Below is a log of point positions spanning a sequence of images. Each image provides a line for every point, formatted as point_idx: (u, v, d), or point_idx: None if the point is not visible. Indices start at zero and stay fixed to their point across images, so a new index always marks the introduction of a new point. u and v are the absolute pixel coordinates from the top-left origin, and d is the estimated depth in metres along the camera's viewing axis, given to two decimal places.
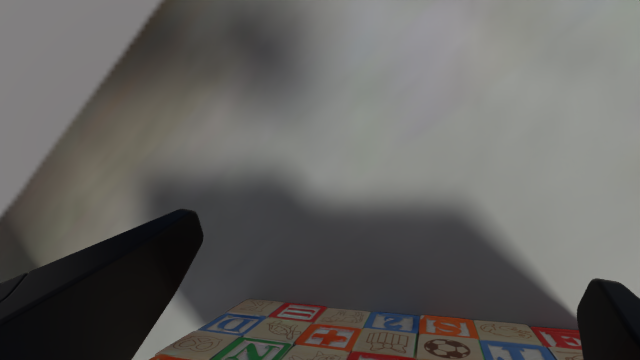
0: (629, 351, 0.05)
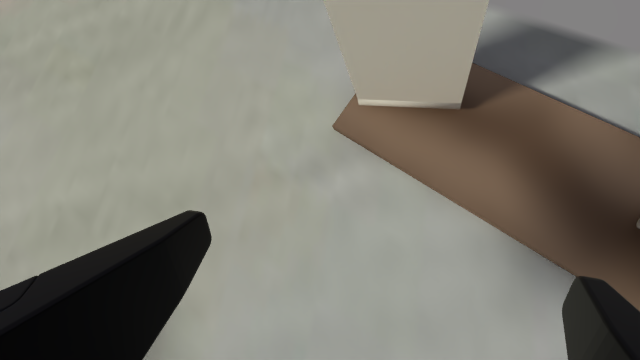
0: (609, 347, 0.05)
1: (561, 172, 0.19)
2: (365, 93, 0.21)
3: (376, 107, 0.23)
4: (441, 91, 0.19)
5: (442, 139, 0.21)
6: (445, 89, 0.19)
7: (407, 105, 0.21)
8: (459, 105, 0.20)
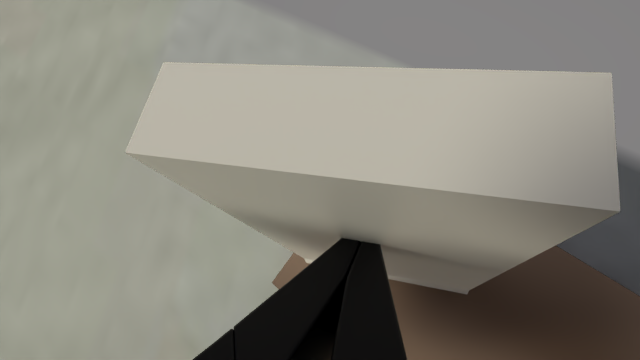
0: None
1: None
2: (313, 258, 0.13)
3: None
4: (436, 279, 0.11)
5: (437, 331, 0.13)
6: (443, 280, 0.11)
7: None
8: (465, 292, 0.12)
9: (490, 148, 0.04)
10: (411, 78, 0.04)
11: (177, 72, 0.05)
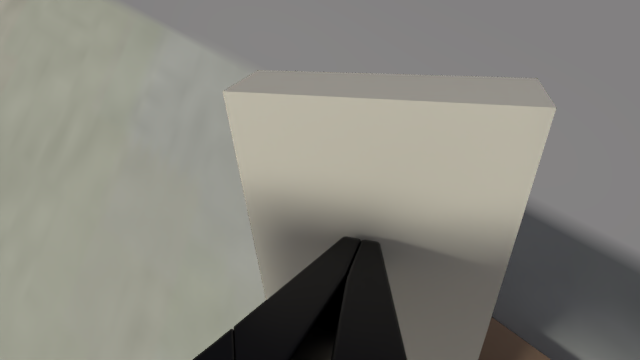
0: None
1: None
2: None
3: None
4: None
5: None
6: None
7: None
8: None
9: (474, 93, 0.06)
10: (422, 77, 0.07)
11: (267, 72, 0.08)
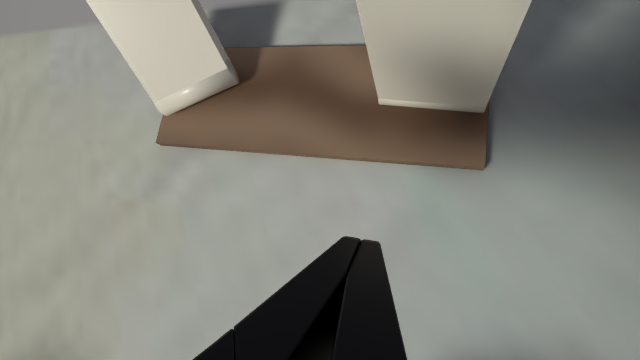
0: None
1: (324, 93, 0.24)
2: (154, 88, 0.25)
3: (183, 112, 0.27)
4: (202, 56, 0.24)
5: (238, 111, 0.25)
6: (202, 51, 0.24)
7: (192, 91, 0.25)
8: (227, 71, 0.24)
9: None
10: None
11: None
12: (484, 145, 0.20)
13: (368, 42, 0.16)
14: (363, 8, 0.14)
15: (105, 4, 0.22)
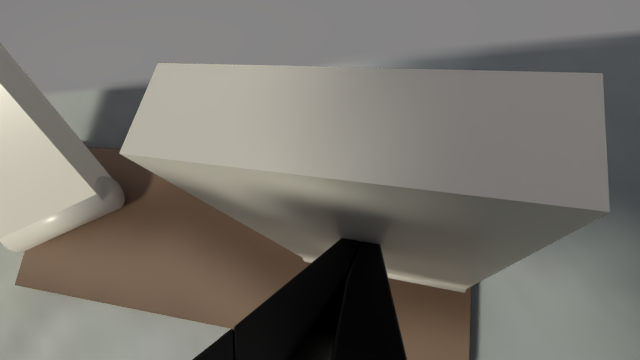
0: None
1: (237, 228, 0.17)
2: None
3: (53, 241, 0.19)
4: (56, 181, 0.16)
5: (122, 246, 0.18)
6: (56, 175, 0.16)
7: (52, 224, 0.17)
8: (97, 198, 0.17)
9: None
10: None
11: None
12: (466, 337, 0.13)
13: (244, 222, 0.09)
14: (197, 193, 0.07)
15: None
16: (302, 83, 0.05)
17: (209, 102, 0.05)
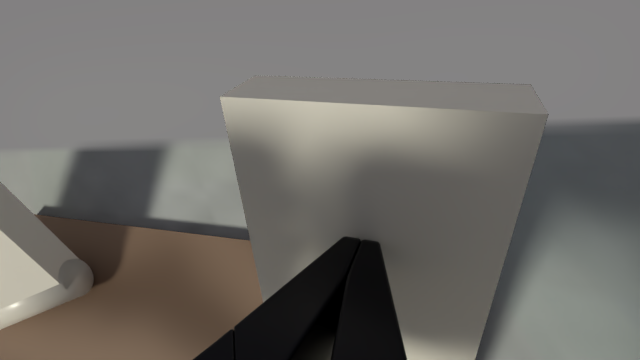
0: None
1: (211, 321, 0.15)
2: None
3: None
4: (15, 272, 0.15)
5: (90, 333, 0.17)
6: (14, 267, 0.15)
7: (13, 313, 0.16)
8: (60, 288, 0.16)
9: None
10: None
11: None
12: None
13: (255, 241, 0.09)
14: (243, 169, 0.08)
15: None
16: (353, 82, 0.08)
17: (290, 85, 0.08)
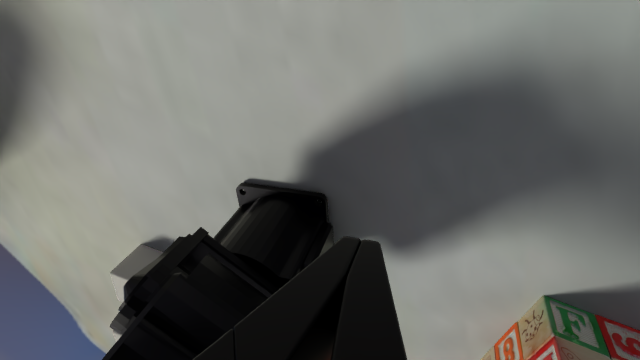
0: None
1: None
2: None
3: None
4: None
5: None
6: None
7: None
8: None
9: None
10: None
11: None
12: None
13: None
14: None
15: None
16: None
17: None
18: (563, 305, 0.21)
